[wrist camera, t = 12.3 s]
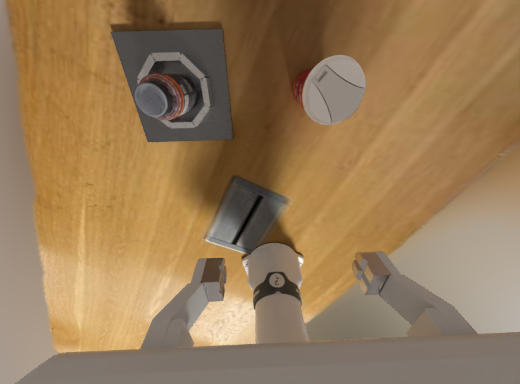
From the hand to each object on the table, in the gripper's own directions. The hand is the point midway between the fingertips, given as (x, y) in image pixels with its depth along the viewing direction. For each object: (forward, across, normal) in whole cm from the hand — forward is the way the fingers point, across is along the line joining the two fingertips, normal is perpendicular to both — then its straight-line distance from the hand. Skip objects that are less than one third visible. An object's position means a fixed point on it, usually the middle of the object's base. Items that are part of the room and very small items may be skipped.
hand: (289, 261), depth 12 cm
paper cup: (+31, -8, -8) cm, 33 cm away
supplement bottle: (+30, +15, -8) cm, 35 cm away
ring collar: (+31, +15, -8) cm, 35 cm away
